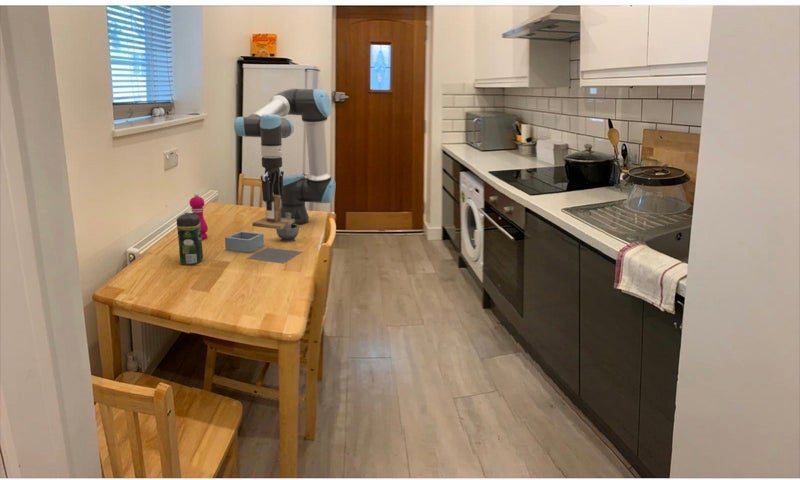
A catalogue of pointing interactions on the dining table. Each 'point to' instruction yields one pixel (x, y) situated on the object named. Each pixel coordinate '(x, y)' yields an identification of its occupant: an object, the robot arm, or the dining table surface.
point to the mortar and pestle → (288, 231)
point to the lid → (278, 221)
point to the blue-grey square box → (244, 241)
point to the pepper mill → (199, 213)
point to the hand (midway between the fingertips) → (273, 216)
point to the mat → (274, 255)
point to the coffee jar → (189, 238)
